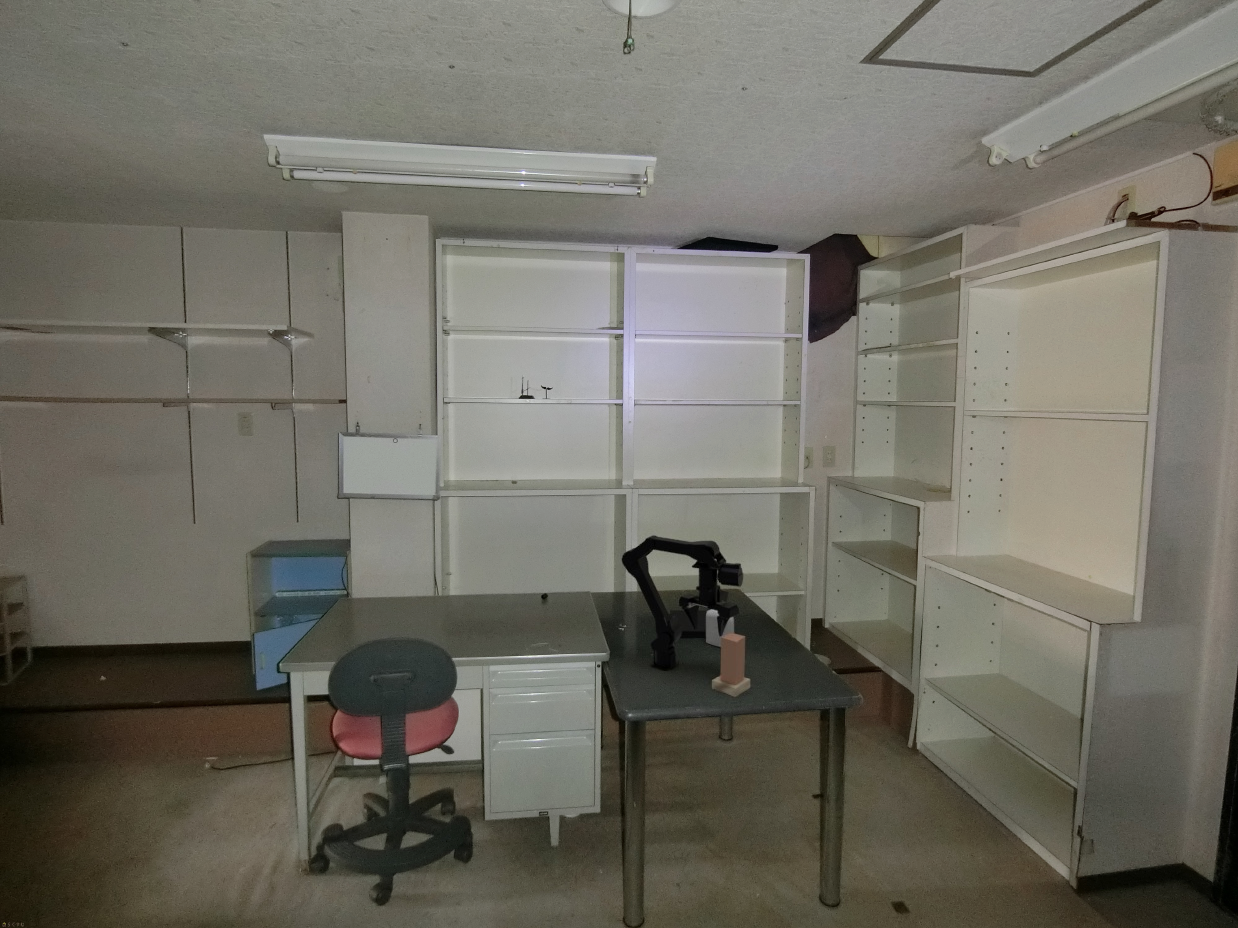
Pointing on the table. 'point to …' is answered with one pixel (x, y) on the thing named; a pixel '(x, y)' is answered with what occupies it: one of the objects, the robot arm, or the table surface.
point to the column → (732, 658)
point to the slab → (730, 686)
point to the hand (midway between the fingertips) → (708, 632)
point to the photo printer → (716, 628)
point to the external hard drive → (687, 626)
